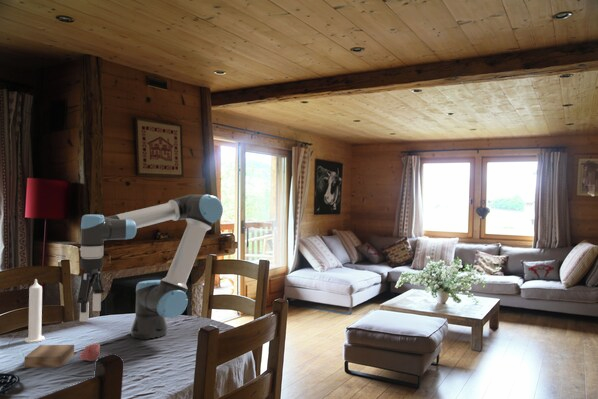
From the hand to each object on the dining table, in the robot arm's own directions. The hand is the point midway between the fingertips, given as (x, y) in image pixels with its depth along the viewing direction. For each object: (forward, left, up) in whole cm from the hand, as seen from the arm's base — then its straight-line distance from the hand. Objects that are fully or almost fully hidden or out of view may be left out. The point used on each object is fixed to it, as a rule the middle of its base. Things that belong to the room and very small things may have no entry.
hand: (90, 315), depth 162 cm
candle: (+29, -24, -17) cm, 41 cm away
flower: (0, 0, -17) cm, 17 cm away
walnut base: (+14, -1, -17) cm, 22 cm away
